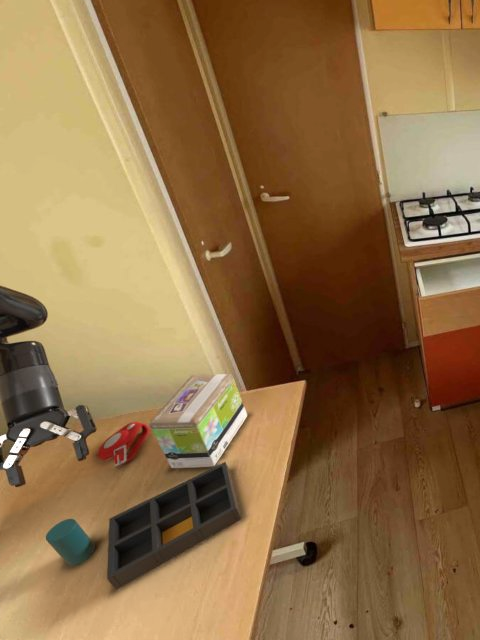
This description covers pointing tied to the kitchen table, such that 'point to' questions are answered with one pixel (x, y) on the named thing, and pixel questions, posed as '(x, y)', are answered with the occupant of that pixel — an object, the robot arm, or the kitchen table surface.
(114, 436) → the tracker holder
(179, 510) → the grid
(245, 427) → the kitchen table surface
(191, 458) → the tea box
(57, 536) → the cylinder
